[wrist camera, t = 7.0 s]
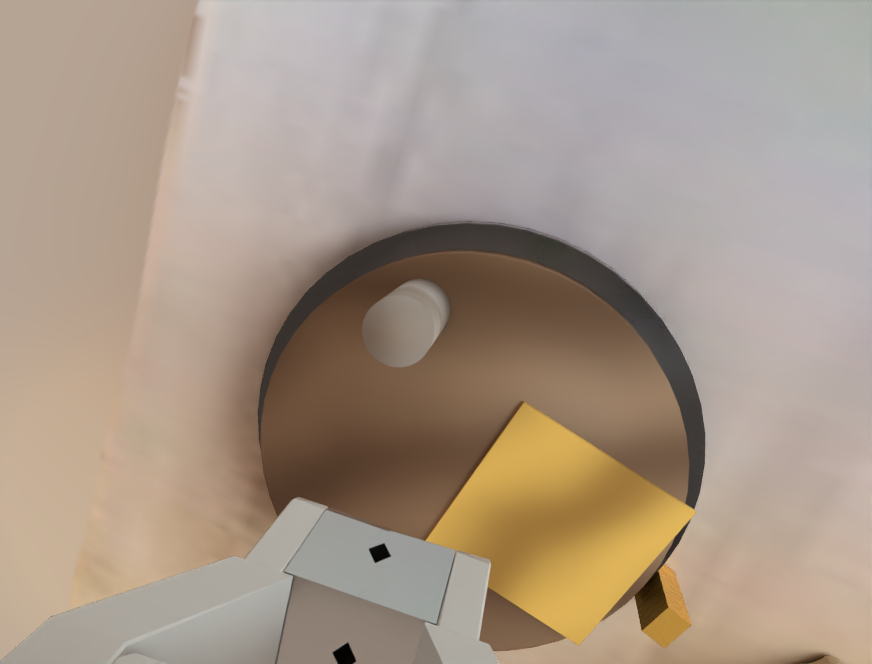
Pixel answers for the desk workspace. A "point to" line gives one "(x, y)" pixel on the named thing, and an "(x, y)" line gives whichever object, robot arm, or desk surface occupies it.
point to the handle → (826, 660)
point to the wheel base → (661, 593)
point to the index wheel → (488, 432)
